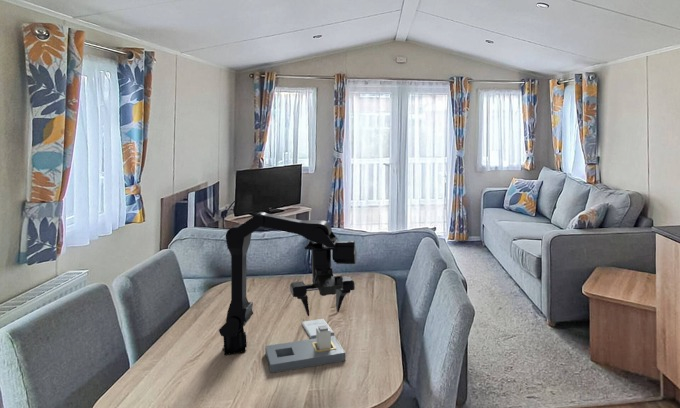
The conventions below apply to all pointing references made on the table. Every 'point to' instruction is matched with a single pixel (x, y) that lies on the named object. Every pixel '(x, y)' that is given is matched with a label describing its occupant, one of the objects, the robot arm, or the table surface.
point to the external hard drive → (314, 327)
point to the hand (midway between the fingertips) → (323, 313)
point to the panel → (302, 355)
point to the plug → (323, 337)
